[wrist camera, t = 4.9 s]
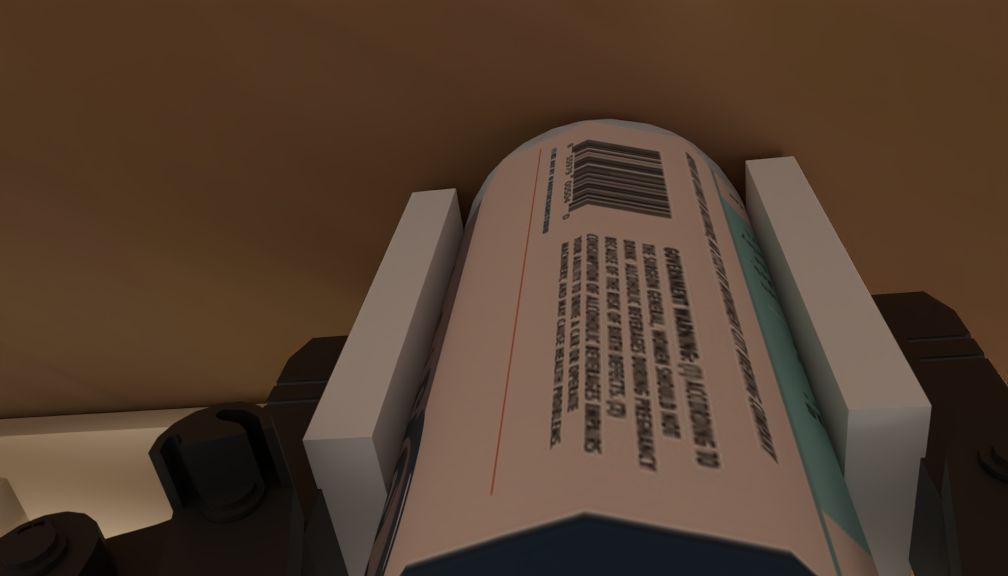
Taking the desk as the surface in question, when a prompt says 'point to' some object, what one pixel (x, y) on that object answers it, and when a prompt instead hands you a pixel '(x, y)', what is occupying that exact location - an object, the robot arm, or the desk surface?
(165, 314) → the desk surface
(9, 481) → the cradle
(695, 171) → the beer can
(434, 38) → the desk surface
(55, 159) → the desk surface
